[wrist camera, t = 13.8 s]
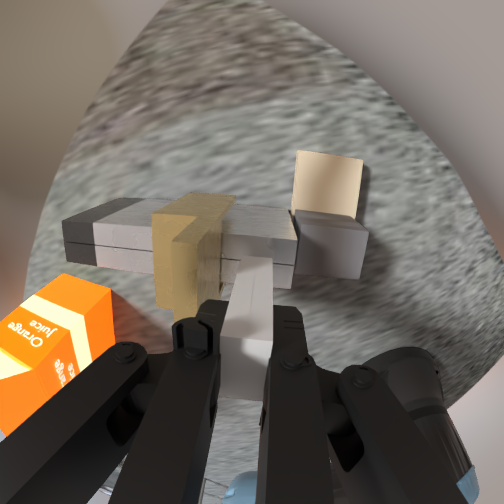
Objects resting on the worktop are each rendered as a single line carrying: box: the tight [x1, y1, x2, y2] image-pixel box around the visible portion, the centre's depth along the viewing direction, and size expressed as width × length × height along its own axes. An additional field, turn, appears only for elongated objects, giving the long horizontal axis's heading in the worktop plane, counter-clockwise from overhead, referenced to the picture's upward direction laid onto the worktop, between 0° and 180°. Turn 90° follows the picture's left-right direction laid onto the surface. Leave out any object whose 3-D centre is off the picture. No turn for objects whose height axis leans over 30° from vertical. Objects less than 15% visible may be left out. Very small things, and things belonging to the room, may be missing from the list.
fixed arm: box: [64, 241, 294, 289], centre depth 21 cm, size 16×2×9 cm, turn 86°
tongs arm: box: [62, 198, 298, 265], centre depth 20 cm, size 16×2×9 cm, turn 86°
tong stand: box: [290, 150, 369, 280], centre depth 21 cm, size 6×10×6 cm, turn 175°
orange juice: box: [0, 273, 115, 437], centre depth 20 cm, size 8×9×20 cm
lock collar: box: [152, 192, 236, 322], centre depth 16 cm, size 4×6×12 cm, turn 175°
